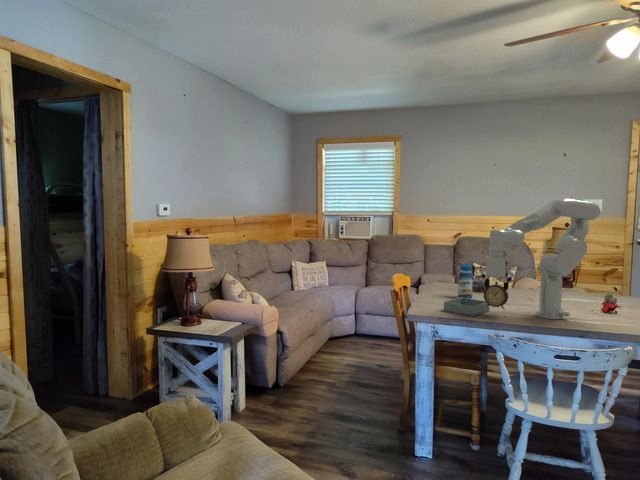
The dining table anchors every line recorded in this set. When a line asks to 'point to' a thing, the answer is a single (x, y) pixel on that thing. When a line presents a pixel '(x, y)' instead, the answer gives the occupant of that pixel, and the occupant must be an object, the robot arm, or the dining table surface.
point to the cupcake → (479, 285)
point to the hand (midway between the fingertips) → (496, 288)
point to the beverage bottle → (465, 282)
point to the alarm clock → (495, 295)
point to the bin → (466, 306)
